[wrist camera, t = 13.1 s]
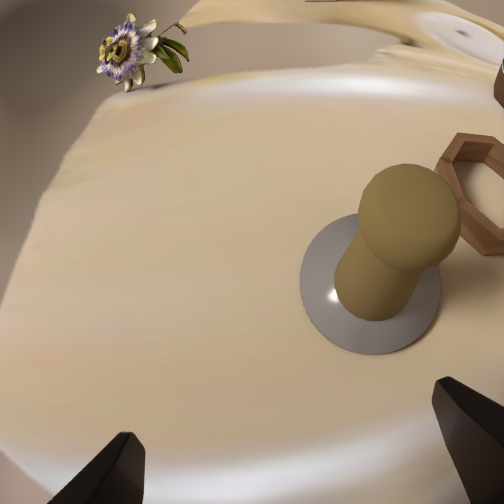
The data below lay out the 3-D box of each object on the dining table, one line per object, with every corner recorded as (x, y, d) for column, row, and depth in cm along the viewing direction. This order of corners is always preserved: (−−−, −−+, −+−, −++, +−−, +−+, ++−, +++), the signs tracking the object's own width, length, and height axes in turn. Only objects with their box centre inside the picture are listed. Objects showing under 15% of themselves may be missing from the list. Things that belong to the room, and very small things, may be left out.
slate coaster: (446, 345, 20) (450, 344, 19) (302, 360, 21) (302, 359, 21) (423, 214, 24) (425, 211, 24) (296, 220, 26) (295, 216, 25)
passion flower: (144, 114, 43) (77, 80, 35) (170, 63, 45) (111, 30, 37) (183, 85, 35) (101, 38, 27) (210, 31, 37) (142, -12, 29)
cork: (371, 228, 24) (404, 126, 14) (426, 281, 21) (497, 203, 12) (316, 279, 23) (325, 191, 13) (374, 339, 20) (435, 293, 11)
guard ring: (540, 251, 21) (556, 237, 18) (452, 258, 22) (468, 242, 20) (503, 156, 26) (514, 139, 23) (420, 151, 27) (428, 130, 24)
